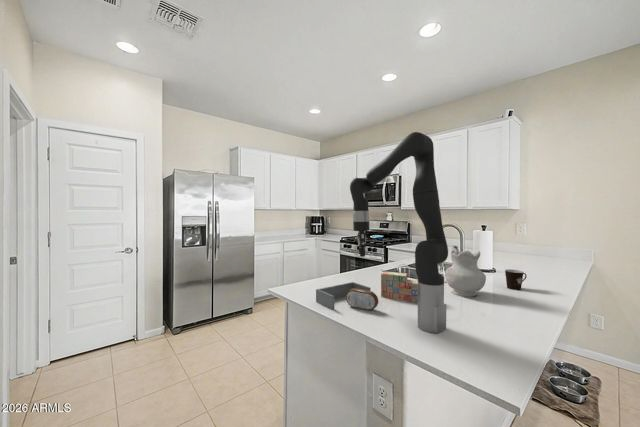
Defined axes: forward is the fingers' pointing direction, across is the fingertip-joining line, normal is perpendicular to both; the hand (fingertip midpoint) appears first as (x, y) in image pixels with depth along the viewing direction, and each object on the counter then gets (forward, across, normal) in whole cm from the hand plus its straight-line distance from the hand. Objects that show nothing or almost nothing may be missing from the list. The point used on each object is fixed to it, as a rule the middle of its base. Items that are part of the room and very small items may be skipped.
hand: (361, 255), depth 127 cm
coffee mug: (+25, +35, -90) cm, 99 cm away
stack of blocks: (+24, +12, -21) cm, 34 cm away
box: (+23, +6, +9) cm, 26 cm away
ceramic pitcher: (+24, +24, -55) cm, 65 cm away
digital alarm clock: (+24, -4, +1) cm, 24 cm away
